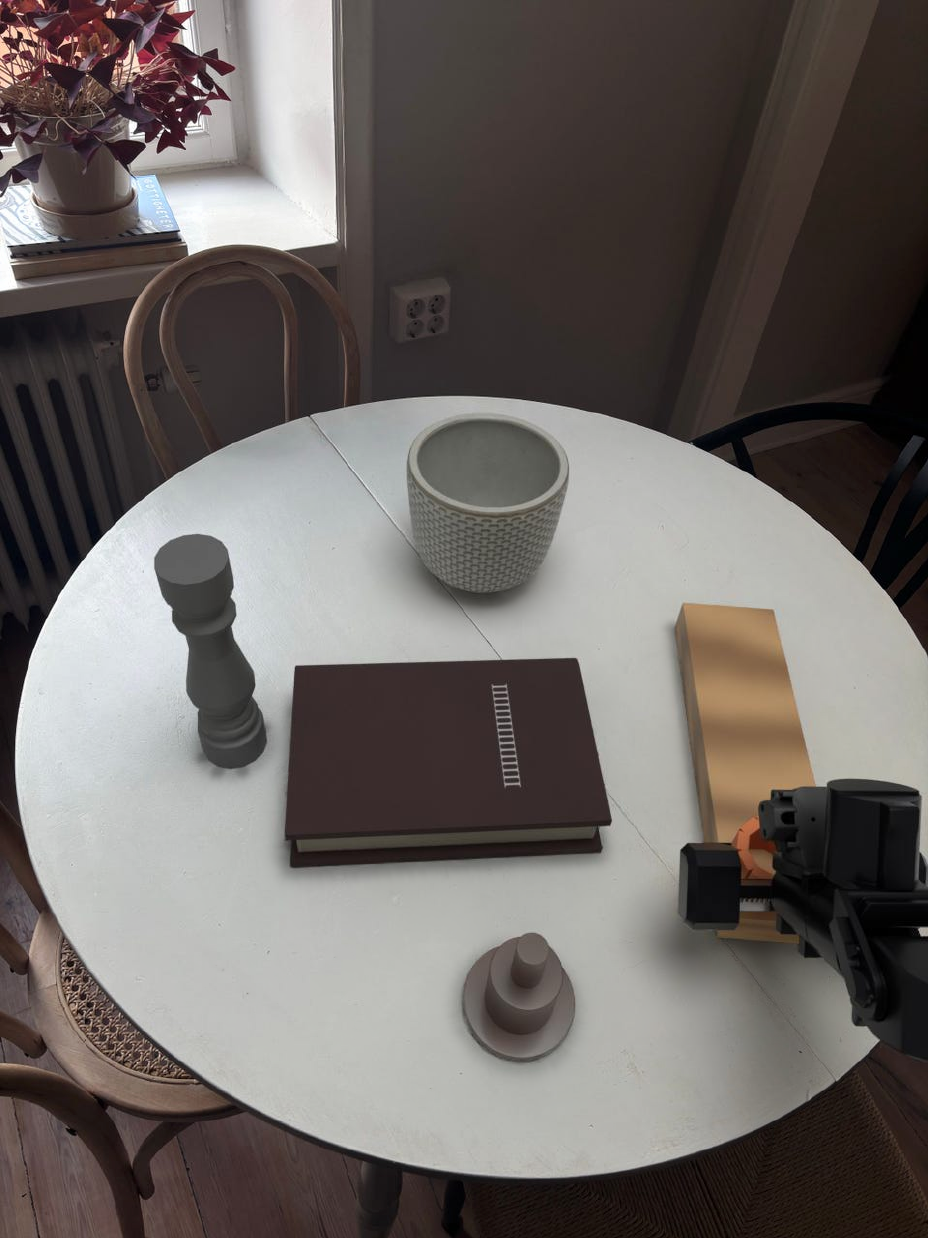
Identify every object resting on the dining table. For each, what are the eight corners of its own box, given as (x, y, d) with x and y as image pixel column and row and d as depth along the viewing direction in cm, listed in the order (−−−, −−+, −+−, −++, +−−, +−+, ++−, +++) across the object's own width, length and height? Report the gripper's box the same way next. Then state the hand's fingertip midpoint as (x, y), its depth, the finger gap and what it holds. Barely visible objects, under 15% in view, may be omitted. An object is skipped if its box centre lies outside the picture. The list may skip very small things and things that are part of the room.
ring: (809, 908, 76) (826, 887, 73) (732, 908, 75) (745, 886, 73) (789, 839, 80) (804, 816, 77) (716, 838, 80) (728, 815, 77)
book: (567, 684, 96) (575, 648, 91) (600, 852, 83) (612, 820, 78) (300, 692, 93) (295, 656, 89) (290, 867, 80) (284, 835, 76)
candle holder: (280, 742, 89) (248, 559, 70) (228, 780, 86) (180, 599, 67) (241, 706, 92) (201, 520, 73) (189, 741, 88) (133, 557, 70)
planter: (526, 640, 99) (543, 532, 88) (382, 595, 103) (379, 486, 91) (569, 542, 110) (589, 434, 99) (437, 504, 114) (442, 396, 102)
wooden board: (832, 946, 78) (849, 927, 75) (717, 937, 78) (729, 918, 75) (762, 633, 102) (773, 609, 99) (674, 626, 102) (682, 602, 99)
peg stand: (596, 1011, 73) (621, 958, 65) (514, 1087, 69) (529, 1041, 61) (521, 927, 78) (536, 867, 69) (440, 994, 73) (445, 939, 65)
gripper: (983, 810, 63) (871, 762, 78) (717, 807, 62) (657, 759, 77) (974, 967, 63) (864, 889, 79) (711, 967, 62) (653, 888, 78)
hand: (761, 853), depth 78 cm, fingers open, 9 cm apart
